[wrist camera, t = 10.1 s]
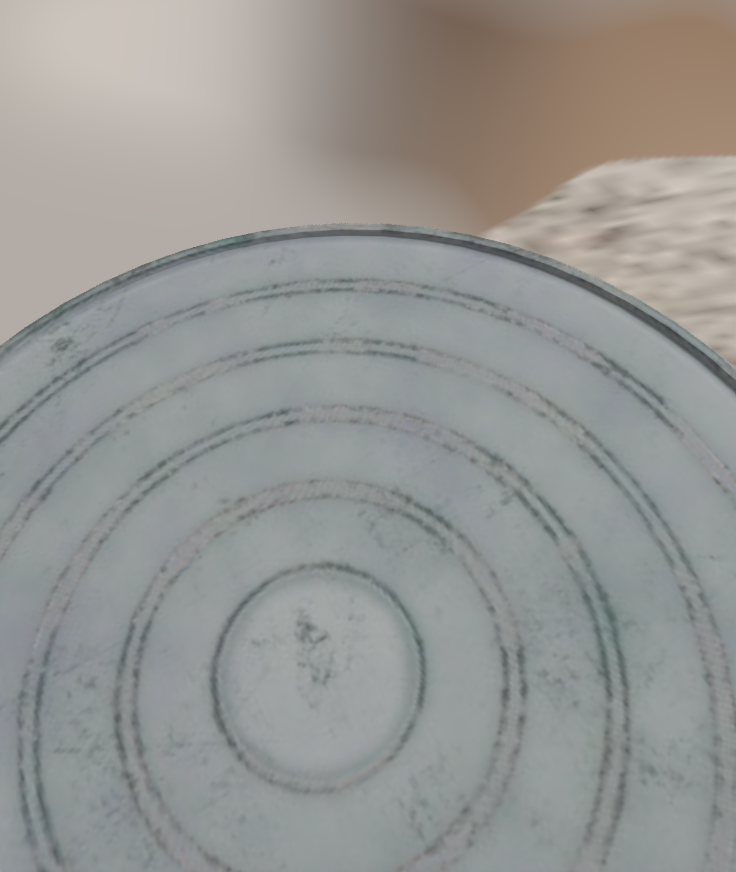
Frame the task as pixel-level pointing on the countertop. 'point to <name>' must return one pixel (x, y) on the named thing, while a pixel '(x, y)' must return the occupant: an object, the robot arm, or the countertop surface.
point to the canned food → (366, 567)
